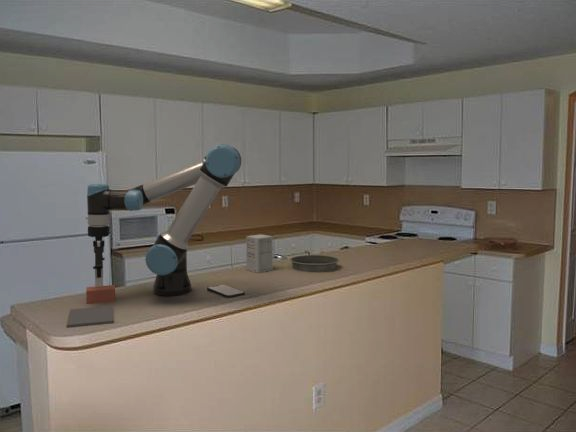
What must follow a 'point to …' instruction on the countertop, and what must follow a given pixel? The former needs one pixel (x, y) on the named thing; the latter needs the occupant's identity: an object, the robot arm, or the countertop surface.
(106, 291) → the card deck box
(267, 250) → the supplement box
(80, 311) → the rubber mat
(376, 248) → the countertop surface
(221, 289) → the phone case
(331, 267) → the cake pan
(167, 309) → the countertop surface
